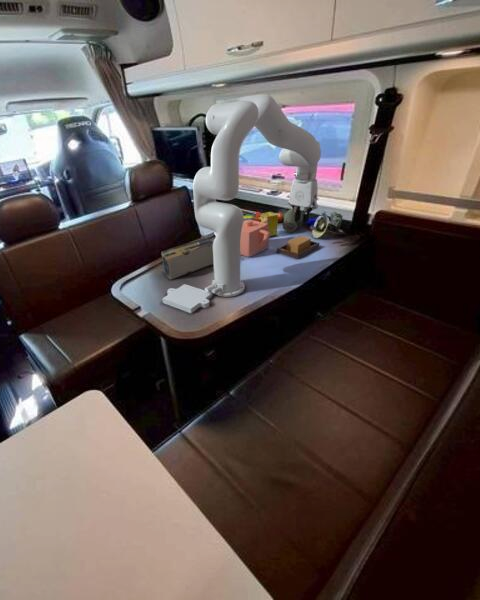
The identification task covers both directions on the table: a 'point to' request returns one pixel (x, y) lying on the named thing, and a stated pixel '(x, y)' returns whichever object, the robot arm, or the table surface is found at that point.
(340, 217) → the toy vehicle
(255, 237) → the pink jerry can
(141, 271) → the table surface
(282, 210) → the eraser
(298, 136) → the robot arm
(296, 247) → the tan rectangular block
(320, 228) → the cream rimmed round part
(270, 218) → the supplement box
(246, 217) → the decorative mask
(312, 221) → the figurine
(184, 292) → the mounting plate
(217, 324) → the table surface
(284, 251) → the brown wooden tray
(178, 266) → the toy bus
